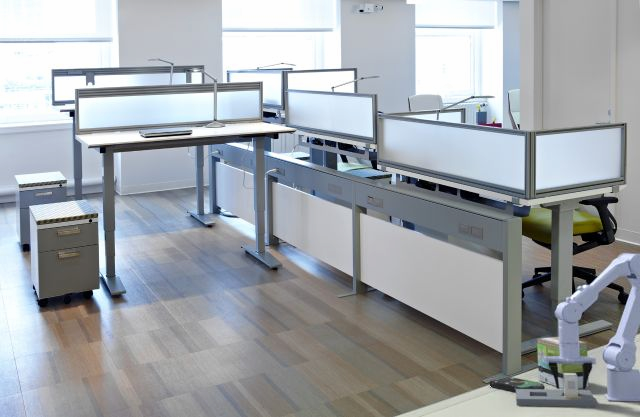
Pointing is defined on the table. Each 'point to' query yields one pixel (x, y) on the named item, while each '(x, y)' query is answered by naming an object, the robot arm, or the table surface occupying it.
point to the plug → (570, 384)
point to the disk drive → (515, 384)
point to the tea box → (550, 349)
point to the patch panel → (553, 398)
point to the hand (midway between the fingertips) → (570, 388)
